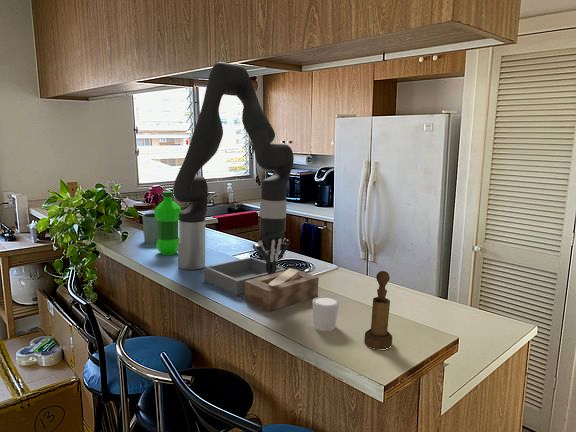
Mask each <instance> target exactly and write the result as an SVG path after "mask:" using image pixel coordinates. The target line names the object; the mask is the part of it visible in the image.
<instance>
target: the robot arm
mask: <svg viewBox="0 0 576 432" xmlns="http://www.w3.org/2000/svg"><path fill="white" fill-rule="evenodd" d="M224 95H225V96H235V97H236V98H238V99H239V100H240V102H241V104H242V105H243V108H242V115H241V120H242V125H243V128H244V129H245V132H246V133H247V135H248V137H249V138H250V140H251V142H252V147H253V152H254V158H255V161H256V163H257V165H258V166H259V167H260V168H261V169H263V170H266V171H267V170H268V171H270V170H271V171H273V172H272V174H271V176H269V177H266V178H264V179H263V180H262V181H261V191H260V193H261V194H260V195H261V197H260V203H259V204H260V205H259V206H260V207H259V228H258V229H259V231H260V236H259V238H258V242H257V243H254V244H252V248H253V250H254V252H256V255H258V257H259V260H261V261H264V262H266V272H267V273H269V274H274V273H275V271H276V266H278V265H277V262H278V260H279V259H282V258H283V256H284V254H285V252H286V251H287V250H288V247H289V246H290V244H291V240H289V239H287V238H286V237H285V232H286V227H287V185H288V182H289V179H290V176H291V172H292V168H293V165H294V151H293V149H292V147H291V146H289V145H288V144H284V143H273V141H274V140H275V137H276V132H275V130H274V128H273V126H272V124H271V122H270V121H269V119H268V118H267V116H266V114H265V112H264V110H263V108H262V106H261V104H260V101H259V99H258V96H257V94H256V90H255V87H254V85H253V83H252V79H251V77H250V74H249V72H248V70H246V68H245V67H244V66H242V65H238V64H234V63H229V62H223V61H218V62H216V63H215V64H213V66H212V68H211V69H210V73H209V76H208V79H207V84H206V89H205V92H204V97H203V101H202V106H201V108H200V113H199V115H198V118H197V122H196V125H195V126H194V130H193V133H192V136H191V139H190V142H189V146H188V149H187V152H186V154H185V157H184V160H183V163H182V164H181V166H180V169H179V171H178V173H177V176H176V178H175V180H174V184H173V188H172V189H173V191H172V192H173V197H174V198H175V200H176V201H178V202H179V203H190V205H188V207H186V208H185V209H183V210H181V212H180V213H179V220H178V237H179V242H178V251H177V268H178V269H183V270H190V271H192V270H193V271H194V270H200V269H204V267H206V216H207V211H208V199H209V197H208V196H209V187H208V183H207V179H206V178H205V177H204V176H202V175H197V174H198V173H199V171H200V170H201V169H202V167H204V166H205V165H207V163H208V162H209V161H210V160H211V159H212V158H213V157H214V156H215V155H216V153H217V152H218V149H219V148H220V145H221V142H222V139H223V136H224V129H223V124H222V120H221V117H220V110H219V109H220V106H221V105H220V104H221V100H222V99H223V96H224Z"/></svg>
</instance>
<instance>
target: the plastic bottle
mask: <svg viewBox="0 0 576 432" xmlns="http://www.w3.org/2000/svg"><path fill="white" fill-rule="evenodd" d="M161 195H162V198H163V200H162V201H161V202H160V203H159V204H158V205H157V206H156V207H155V209H154V212H153V213H154V215H155V218H156V219H157V220H158V240H157V242H156V244H155V248H156V249H157V250H158V252H160V253H161V254H162V255H164V256H172V255H176V253H178V242H179V213H180V212H181V211H182V208H181V206H180V205H178V203H176V202H175V201H174V200H173V197H174V192H173V191H172V190H171V191H169V190H163V191H162V192H161Z"/></svg>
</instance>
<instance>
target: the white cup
mask: <svg viewBox="0 0 576 432" xmlns="http://www.w3.org/2000/svg"><path fill="white" fill-rule="evenodd" d="M311 302H312V303H311V304H312V319H313V322H312V323H313V328H314V329H315V330H316V331H320V332H332V331H334V330H335V329H336V326H337V325H336V324H337V317H338V310H339V305H340V301H339V300H338V299H336V298H334V297H330V296H316V297H313V299H312V301H311Z"/></svg>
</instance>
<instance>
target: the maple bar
mask: <svg viewBox="0 0 576 432" xmlns="http://www.w3.org/2000/svg"><path fill="white" fill-rule="evenodd" d="M294 269H295V268H291V267H289V268H287V269H286V271H285V272H283V273H282V274H281V275H279V276H278V277H277V278H275V279H274V280H272V281H271V282H270V283H268V284H269V285H271V286H274V285H278V284H281V283H285V282H289V281H292V280H296V279H299V278H300V274H299V271H300V270H299V271H297V270H298V269H296V270H294Z"/></svg>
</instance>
